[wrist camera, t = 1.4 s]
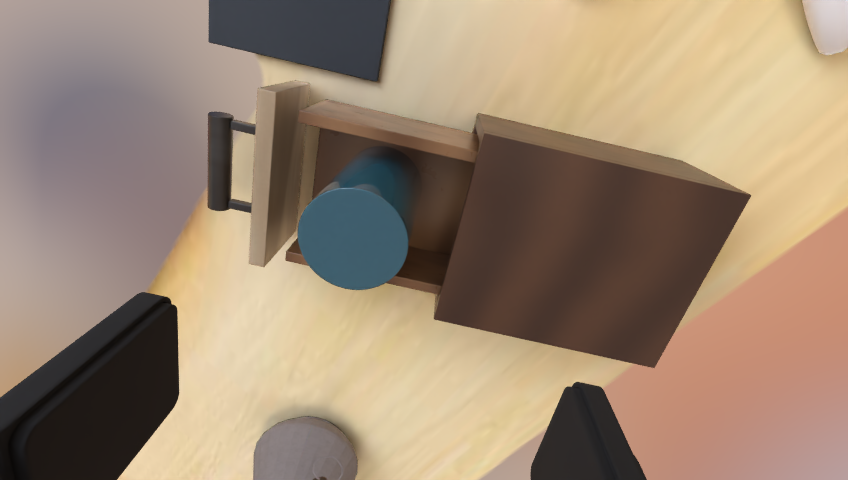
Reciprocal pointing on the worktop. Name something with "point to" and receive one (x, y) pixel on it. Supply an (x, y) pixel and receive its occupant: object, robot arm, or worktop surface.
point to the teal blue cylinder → (362, 220)
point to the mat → (306, 31)
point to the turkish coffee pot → (304, 452)
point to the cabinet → (582, 242)
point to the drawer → (338, 143)
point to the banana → (828, 24)
